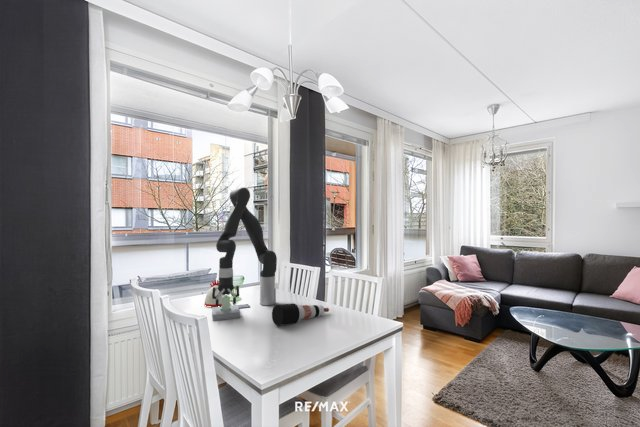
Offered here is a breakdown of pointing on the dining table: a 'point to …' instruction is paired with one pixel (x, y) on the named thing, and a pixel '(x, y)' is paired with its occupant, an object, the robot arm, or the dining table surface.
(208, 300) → the kitchen timer
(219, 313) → the plate
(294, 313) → the bottle
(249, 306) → the panel
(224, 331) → the dining table surface
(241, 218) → the robot arm
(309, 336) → the dining table surface
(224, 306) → the block
